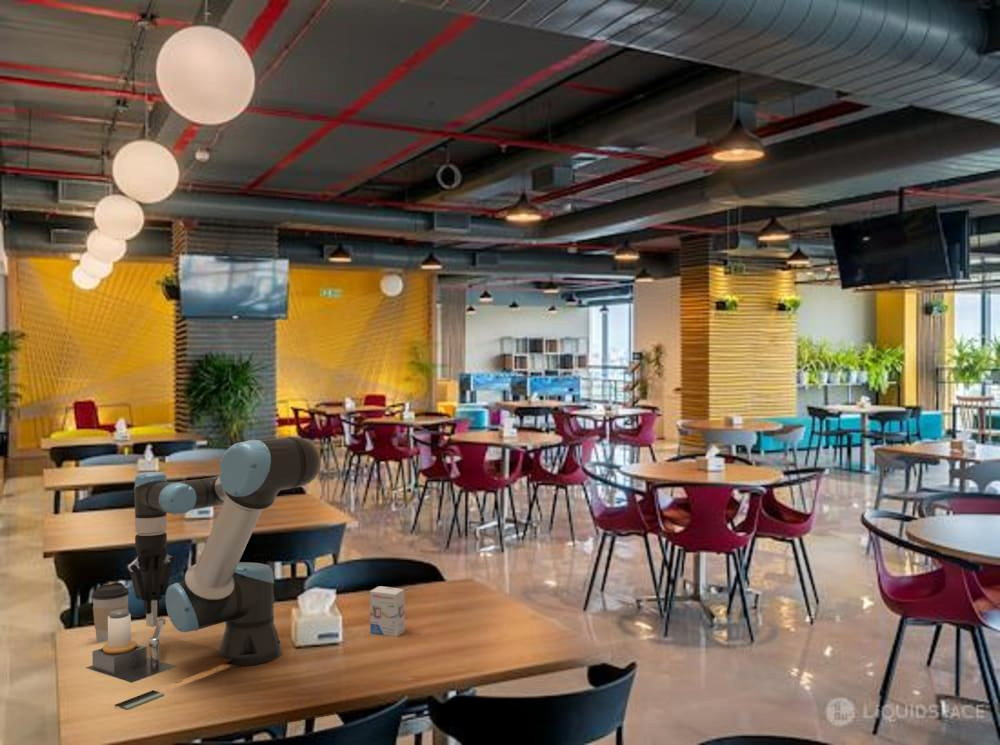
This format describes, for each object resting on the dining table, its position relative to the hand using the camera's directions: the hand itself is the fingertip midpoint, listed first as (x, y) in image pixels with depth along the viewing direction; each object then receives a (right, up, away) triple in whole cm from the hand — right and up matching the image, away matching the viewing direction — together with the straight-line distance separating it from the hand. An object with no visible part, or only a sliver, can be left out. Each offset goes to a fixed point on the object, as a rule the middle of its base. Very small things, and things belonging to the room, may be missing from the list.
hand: (151, 625), depth 214 cm
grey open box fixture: (+1, -7, -14) cm, 16 cm away
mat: (+8, -7, -29) cm, 31 cm away
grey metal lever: (+5, 0, -7) cm, 8 cm away
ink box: (+58, -7, +15) cm, 60 cm away
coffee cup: (-14, -7, +8) cm, 18 cm away
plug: (-2, -6, -14) cm, 15 cm away
